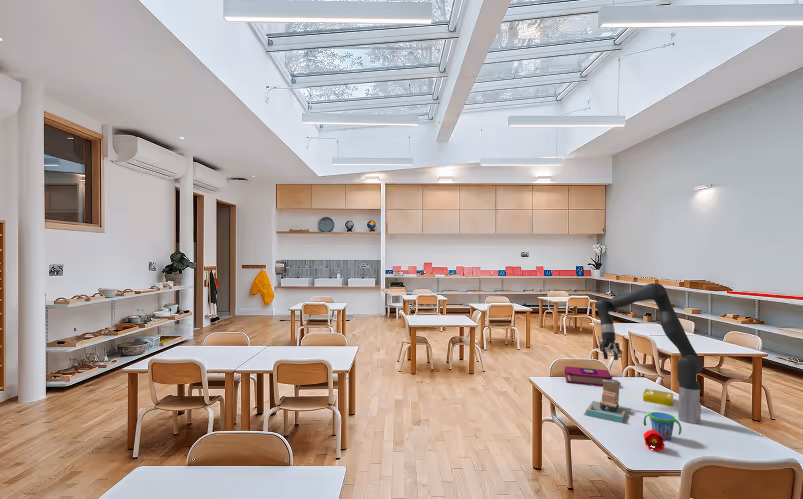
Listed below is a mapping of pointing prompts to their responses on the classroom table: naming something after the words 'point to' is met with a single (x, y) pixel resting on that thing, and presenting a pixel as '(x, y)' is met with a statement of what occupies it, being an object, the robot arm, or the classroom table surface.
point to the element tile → (658, 397)
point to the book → (586, 376)
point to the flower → (654, 440)
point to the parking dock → (619, 410)
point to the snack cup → (662, 424)
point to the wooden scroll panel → (610, 395)
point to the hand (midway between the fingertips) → (611, 359)
